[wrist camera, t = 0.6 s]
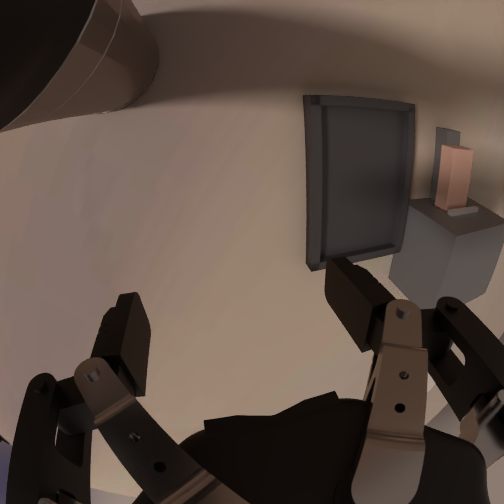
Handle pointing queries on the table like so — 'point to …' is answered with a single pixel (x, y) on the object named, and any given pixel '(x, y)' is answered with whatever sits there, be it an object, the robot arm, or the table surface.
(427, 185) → the table surface
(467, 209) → the dispenser
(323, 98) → the tray
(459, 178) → the pink block
